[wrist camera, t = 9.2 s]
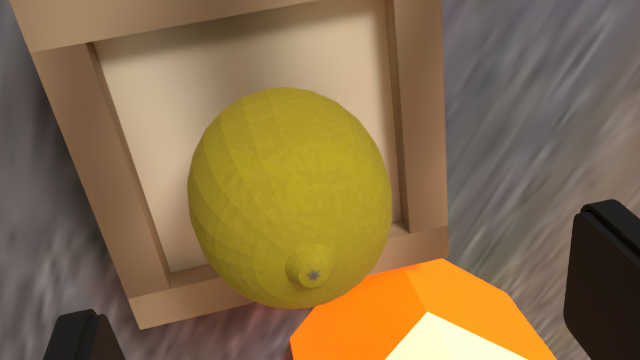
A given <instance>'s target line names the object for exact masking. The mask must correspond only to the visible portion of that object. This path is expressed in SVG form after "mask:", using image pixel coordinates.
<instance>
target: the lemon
mask: <svg viewBox="0 0 640 360" xmlns="http://www.w3.org/2000/svg"><path fill="white" fill-rule="evenodd" d="M187 193H188V204H189V215H190V220H191V224H192V226H193V229H194V232H195V234H196V237H197V239H198V242H199V244H200V247H201V249H202V251H203V253H204V255H205V257H206V259H207V260H208V262H209V263H210V264H211V266H212V267H213V268H214V270H215V271H216V272H217V273H218V275H219V276H220V277H221V278H222V280H223V281H224V282H225V283H226V284H227V285H229V286H230V287H232V288H233V289H234V290H236V291H237V292H239V293H240V294H241V295H243V296H244V297H246V298H248V299H251V300H253V301H256V302H258V303H261V304H263V305H266V306H269V307H276V308H282V309H302V308H311V307H315V306H319V305H323V304H327V303H329V302H331V301H333V300H335V299H337V298H339V297H342V296H344V295H345V294H346V293H348V292H349V291H350V290H352V289H353V288H354V287H356V286H357V285H358V284H360V283H361V282H362V281H363V280H364V279H365V277H366V276H367V275H368V274H369V273H370V272H371V271H372V269H373V268H374V267H375V265H376V263H377V261H378V259H379V257H380V256H381V254H382V252H383V250H384V248H385V246H386V243H387V239H388V235H389V231H390V227H391V221H392V201H391V186H390V181H389V177H388V174H387V171H386V168H385V165H384V162H383V159H382V156H381V153H380V150H379V148H378V146H377V145H376V143H375V142H374V140H373V139H372V137H371V136H370V134H369V133H368V132H367V130H366V129H365V127H364V126H363V125H362V123H361V122H360V121H359V120H358V119H357V118H356V117H355V116H354V115H352V114H351V113H350V112H349V111H347V110H346V109H345V108H343V107H342V106H341V105H340V104H338V103H337V102H335V101H334V100H332V99H329V98H327V97H325V96H322V95H320V94H318V93H316V92H313V91H310V90H303V89H297V88H291V87H282V88H271V89H264V90H261V91H258V92H255V93H252V94H249V95H246V96H243V97H242V98H240V99H239V100H237V101H235V102H234V103H232V104H231V105H229V106H228V107H226V108H225V109H223V111H222V112H221V113H220V114H219V115H218V116H217V117H216V118H215V119H214V120H213V121H212V123H211V124H210V125H209V126H208V127H207V128H206V130H205V132H204V134H203V136H202V138H201V139H200V141H199V143H198V145H197V147H196V149H195V151H194V154H193V157H192V162H191V166H190V171H189V176H188V181H187Z"/></svg>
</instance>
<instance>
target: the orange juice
mask: <svg viewBox="0 0 640 360" xmlns="http://www.w3.org/2000/svg"><path fill="white" fill-rule="evenodd" d="M290 343H291V348H292V353H293V358H294V360H556V358H555V357H554V356H553V354H552V353H551V352H550V350H549V349H548V348H547V346H546V345H545V344H544V342H543V341H542V340H541V338H540V337H539V336H538V334H537V333H536V332H535V330H534V329H533V328H532V326H531V325H530V324H529V322H528V321H527V320H526V318H525V317H524V316H523V314H522V313H521V312H520V310H519V309H518V308H517V306H516V305H515V304H514V302H513V301H512V300H511V298H510V297H509V296H508V294H507V293H505V292H503V291H501V290H499V289H498V288H496V287H494V286H492V285H490V284H488V283H486V282H485V281H483V280H481V279H479V278H477V277H475V276H473V275H472V274H470V273H468V272H466V271H464V270H462V269H460V268H459V267H457V266H455V265H453V264H451V263H449V262H447V261H446V260H444V259H437V260H433V261H429V262H425V263H420V264H416V265H412V266H408V267H404V268H399V269H395V270H391V271H387V272H382V273H378V274H374V275H370V276H366V277H365V279H364V280H363V281H362V282H361V283H360V284H358V285H357V286H356V287H354V288H353V289H352V290H350V291H349V292H348V293H346V294H345V295H344V296H342V297H339V298H337V299H335V300H333V301H331V302H329V303H327V304H323V305H319V306H316V307H315V308H314V309H313V310H312V312H311V313H310V314H309V315H308V317H307V318H306V319H305V320H304V322H303V323H302V324H301V325H300V326H299V328H298V329H297V330H296V331H295V333H294V334H293V335H292V336H291V338H290Z"/></svg>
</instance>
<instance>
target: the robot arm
mask: <svg viewBox="0 0 640 360" xmlns="http://www.w3.org/2000/svg"><path fill="white" fill-rule="evenodd" d="M563 313H564V320H565V323H566V325H567V328H568V329H569V331H570V332H571V334H572V335H573V336H574V337H575V339H576V340H577V341H578V343H579V344H580V345H581V347H582V348H583V349H584V350H585V352H586V353H587V354H588V356H589V357H590V358H591V360H640V219H639V218H638V217H637V216H636V215H634V214H633V213H632V212H631V211H629V210H628V209H627V208H626V207H625V206H623V205H622V204H621V203H620V202H618V201H616V200H613V199H610V200H605V201H601V202H596V203H591V204H586V205H584V206H583V207H582V208H581V211H580V213H579V214H576V215H575V217H574V220H573V229H572V238H571V248H570V257H569V266H568V275H567V284H566V293H565V302H564V311H563ZM43 360H126V359H125V357H124V355H123V353H122V350H121V348H120V346H119V343H118V341H117V339H116V337H115V334H114V332H113V330H112V327H111V325H110V323H109V320H108V318H107V317H106V316H105V315H104V314H102V315H97V314H96V312H95V311H94V310H93V309H88V310H83V311H78V312H74V313H69V314H64V315H61V316H59V317H58V319H57V321H56V324H55V327H54V330H53V333H52V335H51V338H50V341H49V344H48V347H47V350H46V353H45V356H44V358H43Z"/></svg>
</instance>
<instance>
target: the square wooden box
mask: <svg viewBox="0 0 640 360" xmlns="http://www.w3.org/2000/svg"><path fill="white" fill-rule="evenodd" d="M9 1H10V4H11V6H12V9H13V11H14V14H15V16H16V19H17V21H18V24H19V26H20V29H21V31H22V34H23V37H24V39H25V42H26V44H27V47H28V49H29V52H30V54H31V57H32V59H33V62H34V64H35V67H36V69H37V72H38V74H39V77H40V79H41V82H42V84H43V87H44V89H45V92H46V94H47V97H48V99H49V102H50V105H51V107H52V110H53V112H54V115H55V117H56V120H57V122H58V125H59V127H60V130H61V132H62V135H63V137H64V140H65V142H66V145H67V147H68V150H69V152H70V155H71V157H72V160H73V162H74V165H75V168H76V170H77V173H78V175H79V178H80V180H81V183H82V185H83V188H84V190H85V193H86V195H87V198H88V200H89V203H90V205H91V208H92V210H93V213H94V215H95V218H96V220H97V223H98V225H99V228H100V230H101V233H102V236H103V238H104V241H105V243H106V246H107V248H108V251H109V253H110V256H111V258H112V261H113V263H114V266H115V268H116V271H117V273H118V276H119V278H120V281H121V283H122V286H123V288H124V291H125V293H126V296H127V299H128V301H129V304H130V306H131V309H132V311H133V314H134V316H135V319H136V321H137V324H138V326H139V329H140V330H142V329H146V328H150V327H154V326H159V325H163V324H167V323H171V322H175V321H180V320H184V319H188V318H192V317H197V316H201V315H205V314H209V313H213V312H218V311H222V310H226V309H230V308H235V307H239V306H243V305H247V304H251V303H256V301H253V300H251V299H248V298H246V297H244V296H243V295H241V294H240V293H239V292H237V291H236V290H234V289H233V288H232V287H230V286H229V285H227V284H226V283H225V282H224V281H223V280H222V278H221V277H220V276H219V275H218V273H217V272H216V271H215V270H214V268H213V267H212V266H211V264H210V263H209V262H208V260H207V259H206V257H205V255H204V253H203V251H202V249H201V247H200V244H199V242H198V239H197V237H196V234H195V232H194V229H193V226H192V224H191V220H190V215H189V204H188V193H187V181H188V176H189V171H190V166H191V162H192V157H193V154H194V151H195V149H196V147H197V145H198V143H199V141H200V139H201V138H202V136H203V134H204V132H205V130H206V128H207V127H208V126H209V125H210V124H211V123H212V121H213V120H214V119H215V118H216V117H217V116H218V115H219V114H220V113H221V112H222V111H223V109H225V108H226V107H228V106H229V105H231V104H232V103H234V102H235V101H237V100H239V99H240V98H242V97H243V96H246V95H249V94H252V93H255V92H258V91H261V90H264V89H271V88H282V87H291V88H297V89H303V90H310V91H313V92H316V93H318V94H320V95H322V96H325V97H327V98H329V99H332V100H334V101H335V102H337V103H338V104H340V105H341V106H342V107H343V108H345V109H346V110H347V111H349V112H350V113H351V114H352V115H354V116H355V117H356V118H357V119H358V120H359V121H360V122H361V123H362V125H363V126H364V127H365V129H366V130H367V132H368V133H369V134H370V136H371V137H372V139H373V140H374V142H375V143H376V145H377V146H378V148H379V150H380V153H381V156H382V159H383V162H384V165H385V168H386V171H387V174H388V177H389V181H390V186H391V201H392V221H391V227H390V231H389V235H388V239H387V243H386V246H385V248H384V250H383V252H382V254H381V256H380V257H379V259H378V261H377V263H376V265H375V267H374V268H373V269H372V271H371V272H370V273H369V274H368V275H367V276H370V275H374V274H378V273H382V272H387V271H391V270H395V269H399V268H404V267H408V266H412V265H416V264H420V263H425V262H429V261H433V260H437V259H442V258H446V257H449V242H448V207H447V173H446V139H445V105H444V70H443V36H442V2H441V0H9Z"/></svg>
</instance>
